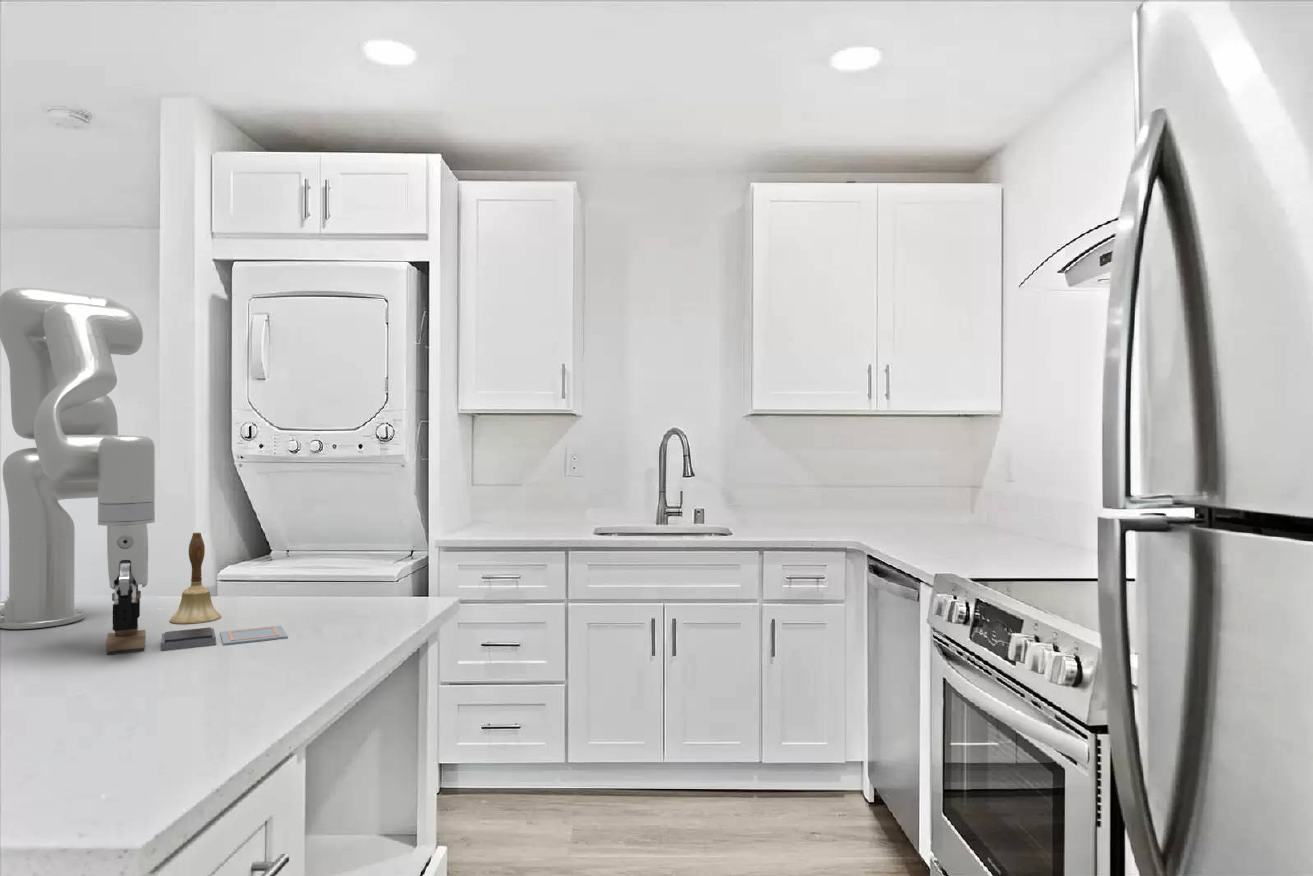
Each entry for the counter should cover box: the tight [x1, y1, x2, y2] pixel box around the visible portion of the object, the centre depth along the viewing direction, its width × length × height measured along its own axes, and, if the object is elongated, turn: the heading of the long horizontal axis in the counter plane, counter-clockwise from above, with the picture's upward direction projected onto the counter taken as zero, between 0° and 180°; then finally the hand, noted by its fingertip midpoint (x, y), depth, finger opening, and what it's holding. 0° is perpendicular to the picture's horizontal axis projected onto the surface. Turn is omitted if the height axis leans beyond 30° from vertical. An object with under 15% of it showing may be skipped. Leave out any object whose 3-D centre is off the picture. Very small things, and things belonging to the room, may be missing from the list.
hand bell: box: [169, 532, 222, 625], centre depth 152 cm, size 8×8×16 cm
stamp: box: [105, 590, 146, 656], centre depth 129 cm, size 5×5×9 cm
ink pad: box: [160, 627, 217, 651], centre depth 134 cm, size 8×8×2 cm
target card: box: [219, 625, 289, 646], centre depth 139 cm, size 10×10×1 cm
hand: (126, 623), depth 129 cm, fingers open, 9 cm apart
